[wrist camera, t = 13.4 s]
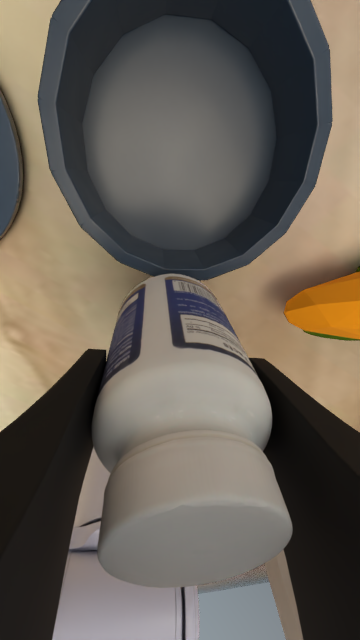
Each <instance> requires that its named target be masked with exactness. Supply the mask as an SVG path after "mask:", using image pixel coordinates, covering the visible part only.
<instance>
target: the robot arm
mask: <svg viewBox="0 0 360 640" xmlns="http://www.w3.org/2000/svg"><path fill="white" fill-rule="evenodd" d="M249 360H250V362H251V364H252V366H253V368H254V370H255V372H256V373H257V375H258V377H259V379H260V381H261V382H262V384H263V387H264V389H265V391H266V394H267V396H268V399H269V402H270V405H271V410H272V429H271V434H270V437H269V440H268V443H267V445H266V447H265V449H264V450H263V453H264V454H265V455H266V457H267V459H268V461H269V462H270V463H271V465H272V467H273V470H274V474H275V478H276V481H277V483H278V486H279V488H280V491H281V494H282V496H283V499H284V502H285V505H286V507H287V510H288V513H289V516H290V519H291V522H292V528H293V531H292V536H291V538H290V541H289V542H288V544H287V545H286V547H285V548H284V553H285V557H286V561H287V566H288V570H289V575H290V579H291V583H292V588H293V592H294V597H295V601H296V606H297V611H298V616H299V621H300V626H301V631H302V636H303V640H360V433H359V432H358V431H356V430H355V429H353V428H352V427H351V426H349V425H348V424H346V423H345V422H343V421H342V420H341V419H339V418H338V417H337V416H335V415H334V414H333V413H331V412H330V411H329V410H327V409H326V408H325V407H323V406H322V405H321V404H319V403H318V402H317V401H316V400H314V399H313V398H312V397H311V396H309V395H308V394H307V393H306V392H304V391H303V390H302V389H301V388H300V387H298V386H297V385H296V384H295V383H293V382H292V381H291V380H290V379H289V378H288V377H286V376H285V375H284V374H283V373H282V372H280V371H279V370H278V369H277V368H275V367H274V366H273V365H272V364H270V363H269V362H268V361H266V360H265V359H262V358H249ZM105 365H106V350H100V349H88V350H87V351H85V352H84V354H83V355H82V356H81V357H80V358H79V359H78V360H77V362H76V363H75V364H74V365H73V366H72V367H71V368H70V369H69V370H68V371H67V372H66V373H65V374H64V375H63V376H62V377H61V378H60V379H59V380H58V381H57V382H56V383H55V384H54V385H53V386H52V387H51V388H50V389H49V390H48V391H47V392H46V393H45V394H44V395H43V396H42V397H41V398H40V399H39V400H37V401H36V402H35V403H34V404H33V405H32V406H31V407H30V408H29V409H28V410H26V411H25V412H24V413H23V414H22V415H21V416H19V417H18V418H17V419H16V420H15V421H13V422H12V423H11V424H10V425H8V426H7V427H6V428H5V429H3V430H2V431H1V432H0V640H199V601H198V590H197V585H195V586H189V587H170V588H156V587H146V586H141V585H136V584H132V583H128V582H126V581H123V580H119V579H117V578H115V577H113V576H111V575H110V574H109V573H107V572H106V571H105V570H104V569H103V567H102V566H101V564H100V562H99V560H98V555H97V547H98V540H99V532H100V525H101V518H102V510H103V502H104V491H105V487H106V485H107V483H108V479H109V476H110V474H111V473H110V472H109V471H108V470H107V469H106V468H105V467H104V466H103V464H102V463H101V461H100V460H99V458H98V456H97V454H96V452H95V449H94V446H93V441H92V428H91V426H92V419H93V414H94V408H95V404H96V400H97V396H98V392H99V387H100V383H101V380H102V377H103V373H104V368H105Z"/></svg>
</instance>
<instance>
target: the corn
mask: <svg viewBox="0 0 360 640" xmlns="http://www.w3.org/2000/svg"><path fill="white" fill-rule="evenodd" d="M284 314H285V316H286V318H287V320H288V322H289V323H291V324H293V325H295V326H297V327H299V328H301V329H303V331H304V332H306V333H308V334H311V335H315V336H319V337H323V338H331V339H338V340H360V266H359V267H358V269H357V270H356V273H353V274H350V275H347V276H344V277H341V278H338V279H335V280H332V281H329V282H326V283H323V284H320V285H317V286H314V287H311V288H308V289H305V290H302V291H301V292H300V293H298V294H297V295H295V296H294V297H293V298H291V299H290V300H288V301H287V302H286V306H285V310H284Z"/></svg>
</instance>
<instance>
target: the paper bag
mask: <svg viewBox="0 0 360 640" xmlns="http://www.w3.org/2000/svg"><path fill="white" fill-rule="evenodd" d="M264 565H265V568H266V572H267V575H268V579H269V582H270V585H271V589H272V592H273V596H274V599H275V602H276V606H277V610H278V613H279V617H280V620H281V624H282V627H283V631H284V633H285V637H286V640H303V636H302V631H301V626H300V621H299V616H298V611H297V606H296V601H295V597H294V592H293V588H292V583H291V579H290V575H289V570H288V566H287V561H286V557H285V553H284V549H283V550H282V551H281V552H280V553H279V554H278V555H276V556H275V557H274V558H272V559H271V560H269V561H268V562H266V563H264Z"/></svg>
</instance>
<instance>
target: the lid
mask: <svg viewBox="0 0 360 640" xmlns="http://www.w3.org/2000/svg"><path fill="white" fill-rule="evenodd" d="M22 184H23V167H22V156H21V150H20V144H19V140H18V136H17V132H16V129H15V125H14V121H13V119H12V116H11V114H10V111H9V108H8V106H7V103H6V100H5V98H4V96H3V94H2V92H1V90H0V239H1V238H2V236H3V235H4V234H5V233H6V232H7V230H8V229H9V227H10V226H11V224H12V222H13V220H14V218H15V215H16V213H17V211H18V207H19V203H20V199H21V195H22Z"/></svg>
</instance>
